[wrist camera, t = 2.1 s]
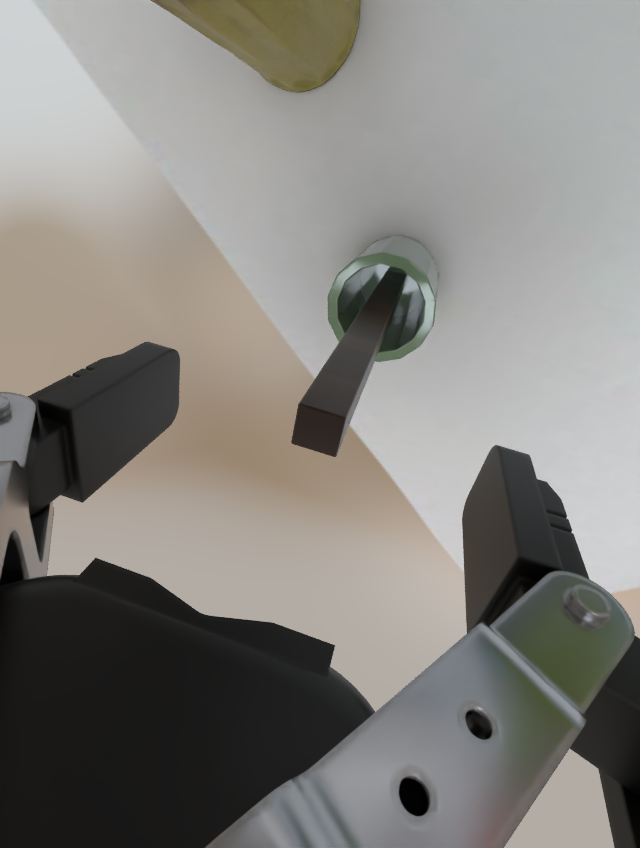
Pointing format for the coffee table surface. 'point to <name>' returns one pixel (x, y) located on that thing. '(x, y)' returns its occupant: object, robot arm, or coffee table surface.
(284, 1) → the vase
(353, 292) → the holder
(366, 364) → the stirring stick
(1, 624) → the robot arm
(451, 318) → the coffee table surface
